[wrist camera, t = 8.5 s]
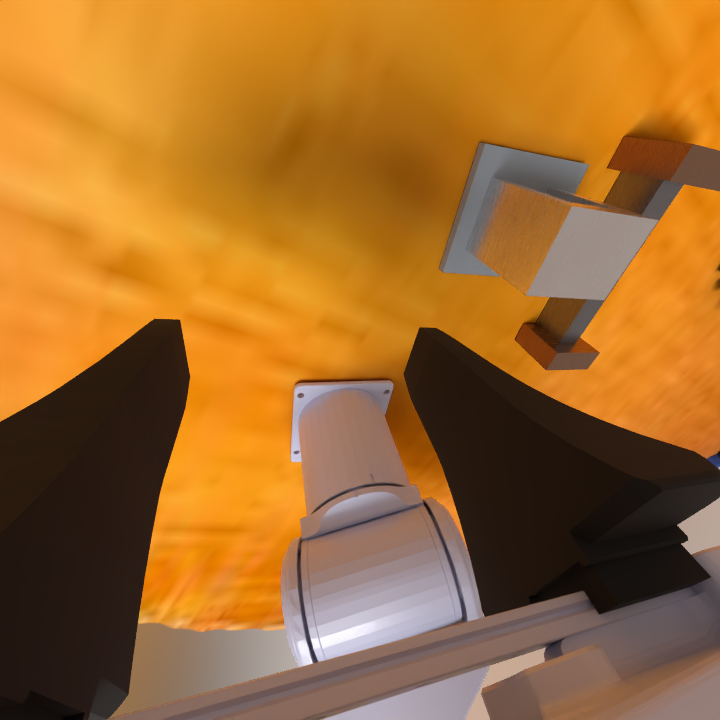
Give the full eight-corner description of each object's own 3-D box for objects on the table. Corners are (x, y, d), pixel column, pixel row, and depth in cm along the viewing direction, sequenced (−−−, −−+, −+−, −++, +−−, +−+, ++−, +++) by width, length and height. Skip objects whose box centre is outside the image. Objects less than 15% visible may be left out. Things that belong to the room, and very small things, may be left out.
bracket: (530, 256, 22) (604, 300, 17) (464, 249, 20) (525, 295, 16) (562, 190, 19) (658, 220, 15) (491, 177, 18) (572, 205, 13)
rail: (552, 339, 28) (587, 369, 25) (514, 339, 27) (546, 370, 24) (672, 148, 20) (745, 157, 17) (624, 136, 19) (693, 144, 16)
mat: (526, 275, 23) (531, 278, 23) (439, 268, 21) (442, 272, 21) (581, 162, 19) (589, 164, 19) (479, 142, 17) (485, 143, 17)
